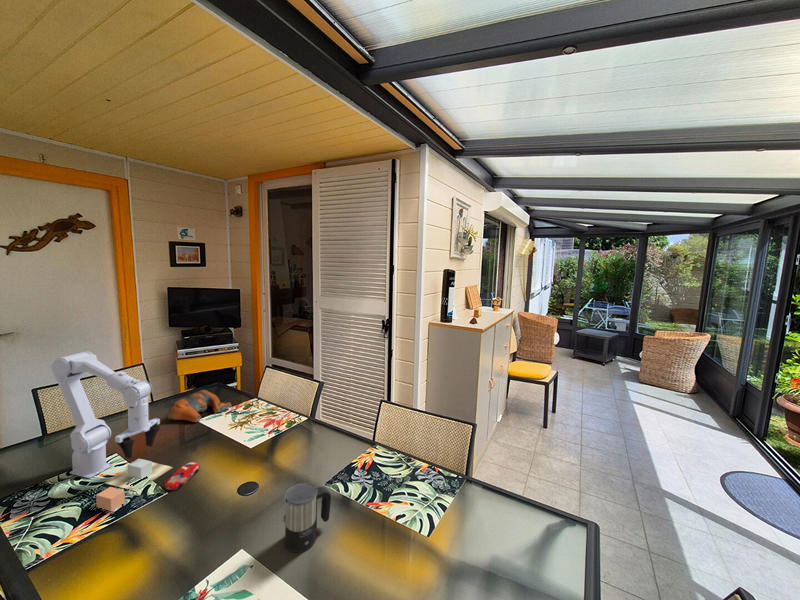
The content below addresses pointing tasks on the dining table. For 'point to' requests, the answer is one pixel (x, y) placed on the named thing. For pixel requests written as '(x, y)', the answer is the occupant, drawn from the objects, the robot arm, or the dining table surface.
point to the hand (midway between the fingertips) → (139, 451)
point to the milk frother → (304, 515)
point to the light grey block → (139, 468)
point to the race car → (182, 476)
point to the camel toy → (196, 406)
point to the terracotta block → (110, 498)
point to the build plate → (123, 477)
